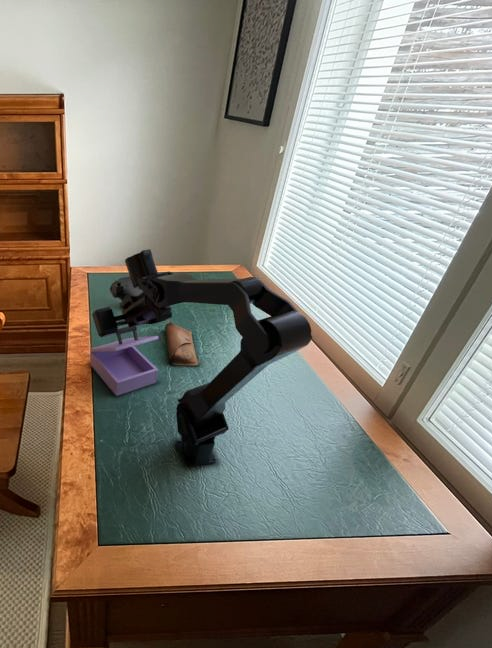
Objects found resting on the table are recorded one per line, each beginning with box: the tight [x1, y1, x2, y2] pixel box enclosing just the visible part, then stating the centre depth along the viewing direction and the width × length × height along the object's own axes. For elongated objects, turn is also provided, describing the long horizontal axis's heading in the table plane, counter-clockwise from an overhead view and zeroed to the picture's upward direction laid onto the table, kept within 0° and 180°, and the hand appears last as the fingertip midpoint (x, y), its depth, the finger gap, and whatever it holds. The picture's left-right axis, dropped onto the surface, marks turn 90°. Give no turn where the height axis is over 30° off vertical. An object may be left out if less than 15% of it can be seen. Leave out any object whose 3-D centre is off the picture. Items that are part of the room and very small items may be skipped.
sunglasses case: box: [164, 322, 199, 367], centre depth 112 cm, size 18×7×7 cm, turn 177°
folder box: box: [89, 346, 159, 397], centre depth 101 cm, size 15×12×4 cm
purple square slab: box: [89, 325, 160, 352], centre depth 98 cm, size 15×12×5 cm
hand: (117, 324), depth 97 cm, fingers open, 9 cm apart
